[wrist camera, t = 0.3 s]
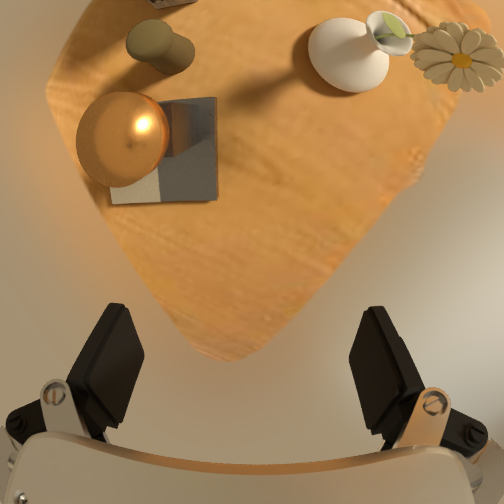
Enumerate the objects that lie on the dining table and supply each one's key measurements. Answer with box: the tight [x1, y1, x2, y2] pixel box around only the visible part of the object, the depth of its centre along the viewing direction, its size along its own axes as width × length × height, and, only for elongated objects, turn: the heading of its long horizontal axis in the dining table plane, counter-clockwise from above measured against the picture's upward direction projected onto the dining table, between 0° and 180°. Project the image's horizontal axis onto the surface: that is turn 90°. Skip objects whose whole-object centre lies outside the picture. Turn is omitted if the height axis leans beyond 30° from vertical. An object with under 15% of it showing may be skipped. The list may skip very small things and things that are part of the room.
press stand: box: [110, 97, 219, 204], centre depth 29 cm, size 14×16×14 cm
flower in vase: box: [308, 11, 504, 93], centre depth 17 cm, size 13×11×25 cm
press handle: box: [76, 91, 169, 188], centre depth 22 cm, size 7×7×13 cm
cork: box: [126, 19, 195, 75], centre depth 24 cm, size 6×6×11 cm
